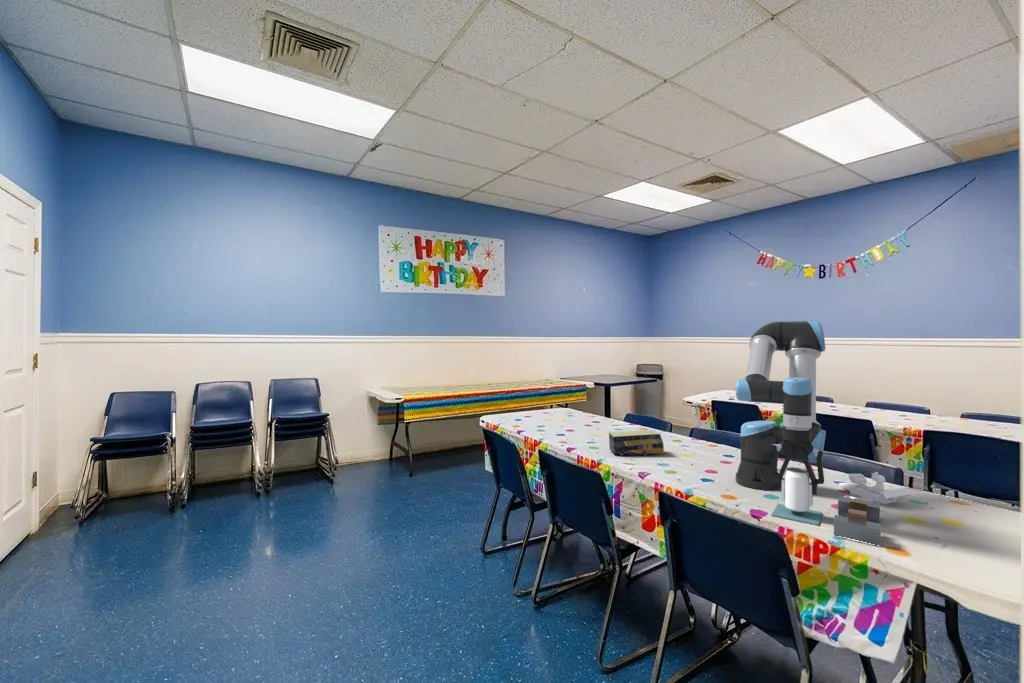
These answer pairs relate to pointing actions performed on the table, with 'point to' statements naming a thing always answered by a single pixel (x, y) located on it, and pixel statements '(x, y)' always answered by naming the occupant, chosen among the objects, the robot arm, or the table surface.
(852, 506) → the vise
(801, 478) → the can
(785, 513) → the mat
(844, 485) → the toy boat
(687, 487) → the table surface
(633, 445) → the toy bus
